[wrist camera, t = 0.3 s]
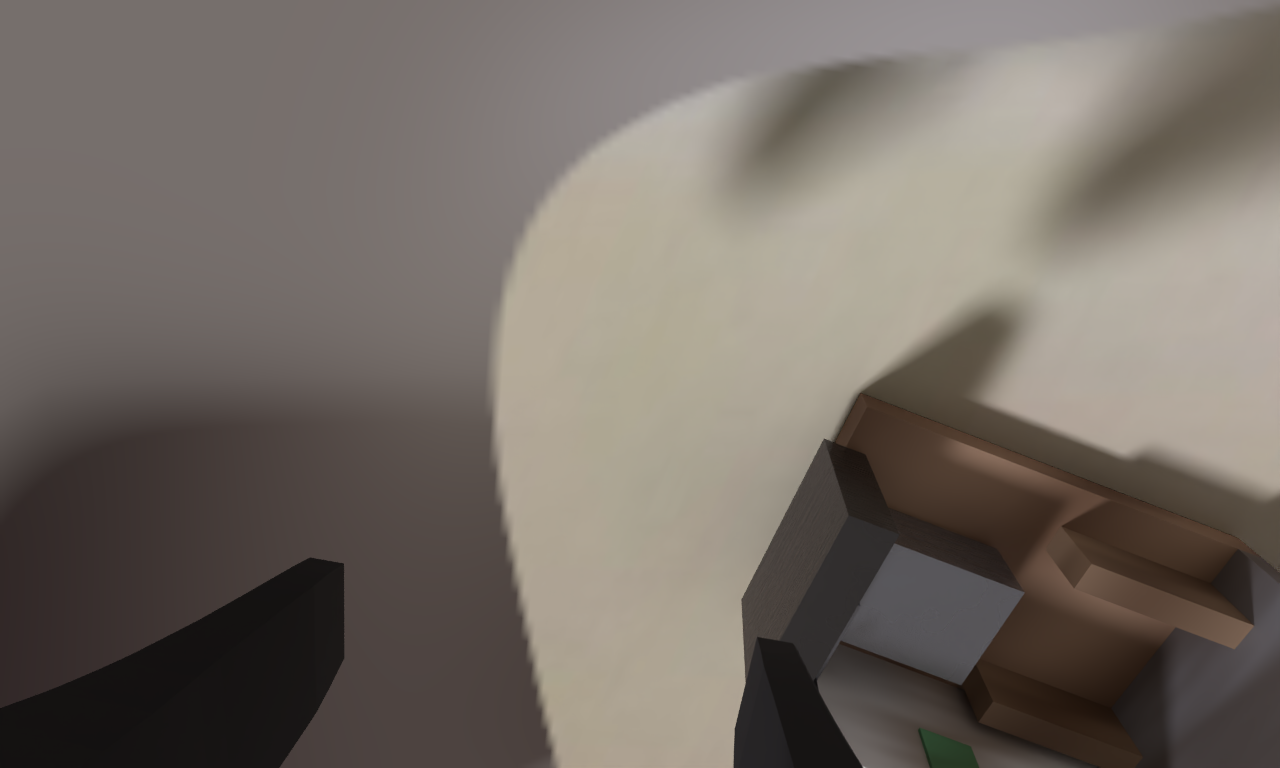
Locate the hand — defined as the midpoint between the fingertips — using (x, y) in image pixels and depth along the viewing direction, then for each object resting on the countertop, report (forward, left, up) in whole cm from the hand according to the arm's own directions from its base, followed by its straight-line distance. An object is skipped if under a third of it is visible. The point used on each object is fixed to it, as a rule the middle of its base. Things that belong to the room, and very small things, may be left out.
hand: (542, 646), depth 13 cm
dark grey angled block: (-8, 0, -8) cm, 12 cm away
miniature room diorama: (-11, 0, -10) cm, 15 cm away
